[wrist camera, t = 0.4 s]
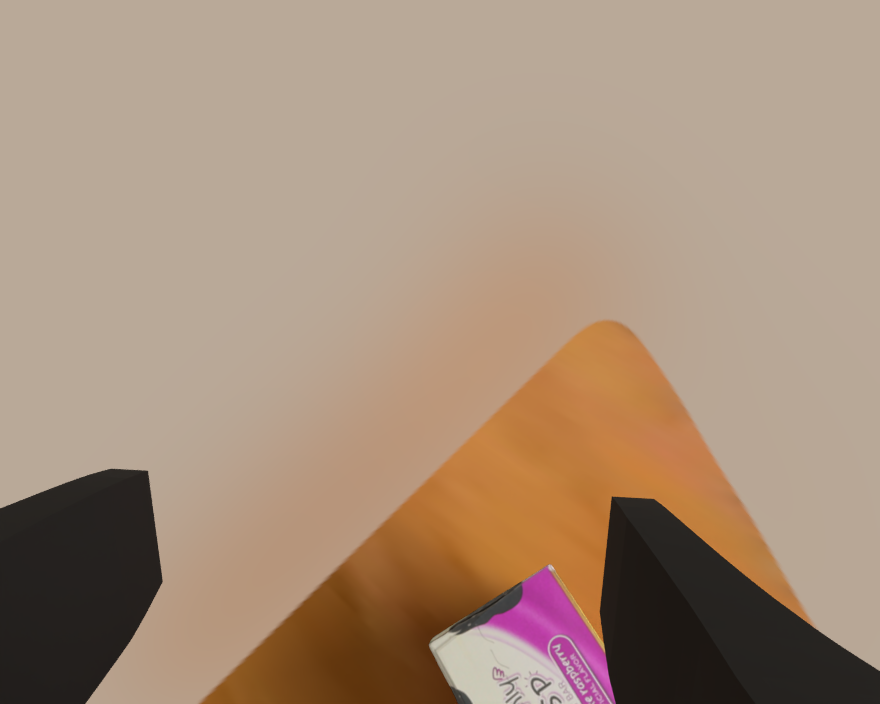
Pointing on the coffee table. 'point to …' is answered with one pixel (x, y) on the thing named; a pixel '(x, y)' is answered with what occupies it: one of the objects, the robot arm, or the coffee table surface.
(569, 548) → the coffee table surface
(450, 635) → the candy bar box
